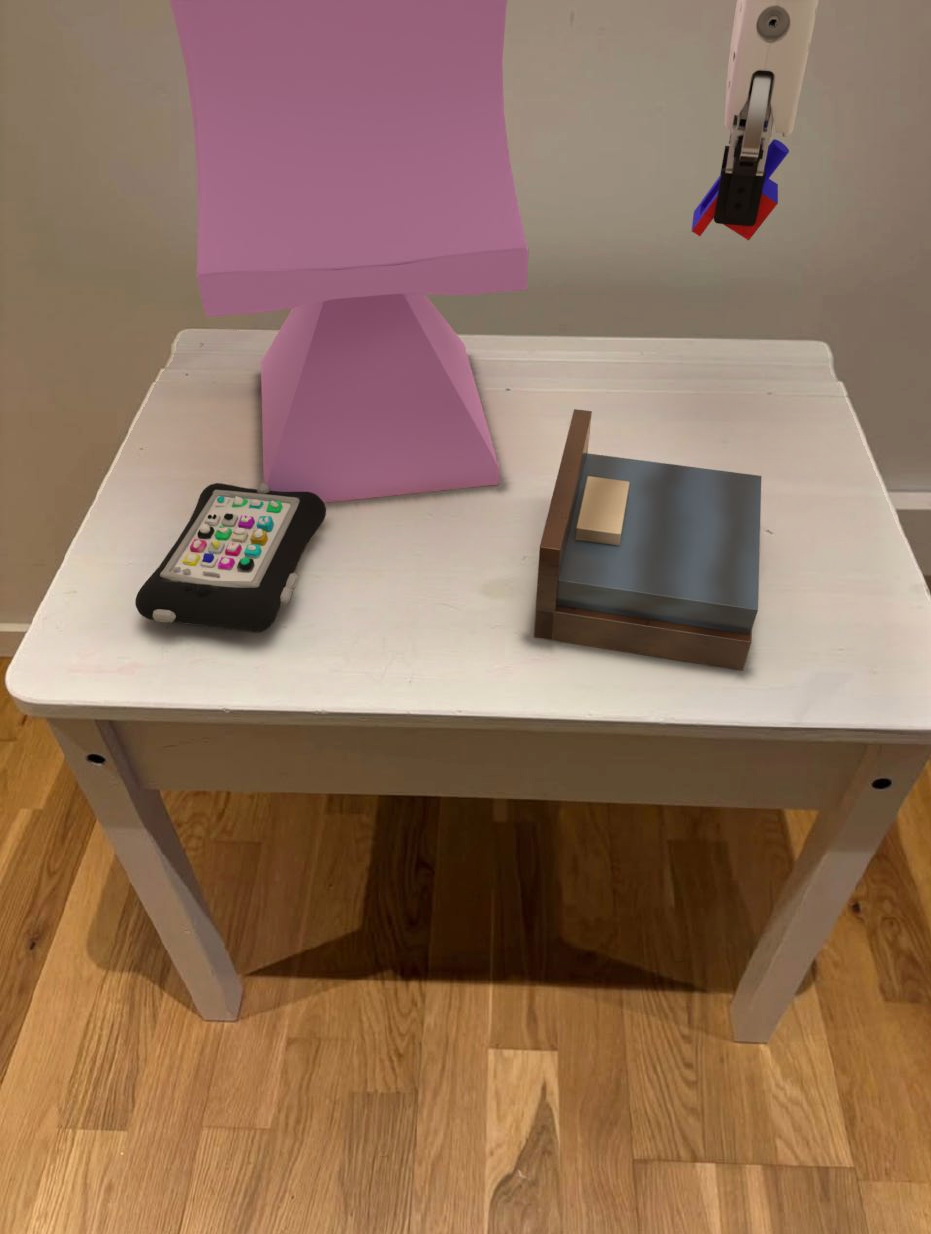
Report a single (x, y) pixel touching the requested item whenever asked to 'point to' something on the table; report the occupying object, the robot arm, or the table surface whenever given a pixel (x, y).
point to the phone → (233, 559)
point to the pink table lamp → (356, 225)
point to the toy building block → (767, 202)
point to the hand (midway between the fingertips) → (735, 209)
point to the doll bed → (649, 557)
